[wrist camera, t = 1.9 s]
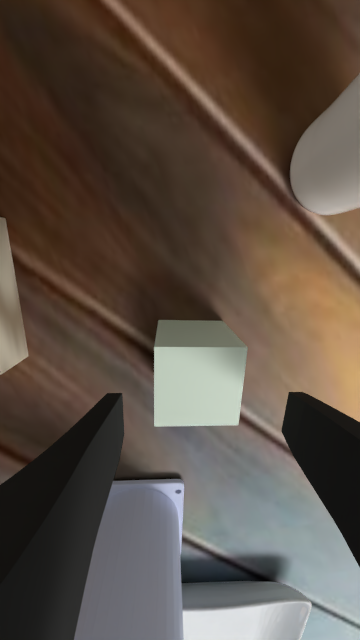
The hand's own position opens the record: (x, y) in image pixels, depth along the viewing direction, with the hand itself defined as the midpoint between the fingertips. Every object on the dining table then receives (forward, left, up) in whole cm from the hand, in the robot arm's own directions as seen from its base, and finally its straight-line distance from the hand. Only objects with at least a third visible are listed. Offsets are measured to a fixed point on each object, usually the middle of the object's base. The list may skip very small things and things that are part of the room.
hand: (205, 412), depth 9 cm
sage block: (0, 0, -7) cm, 7 cm away
